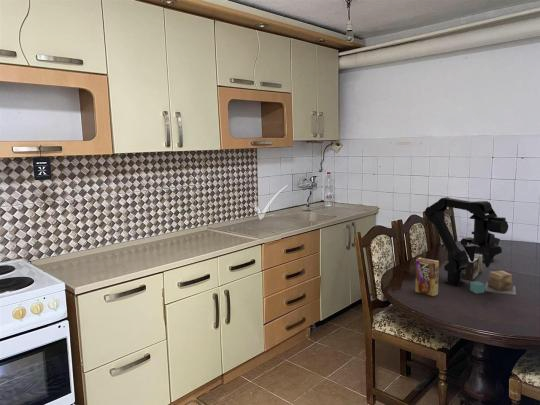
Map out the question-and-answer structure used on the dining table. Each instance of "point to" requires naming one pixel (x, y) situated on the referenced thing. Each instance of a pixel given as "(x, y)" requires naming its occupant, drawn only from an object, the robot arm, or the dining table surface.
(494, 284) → the walnut base block
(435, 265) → the candy box
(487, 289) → the grey square tile
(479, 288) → the teal block
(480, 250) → the storage jar
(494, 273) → the oak top block
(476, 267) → the coffee box
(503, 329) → the dining table surface
